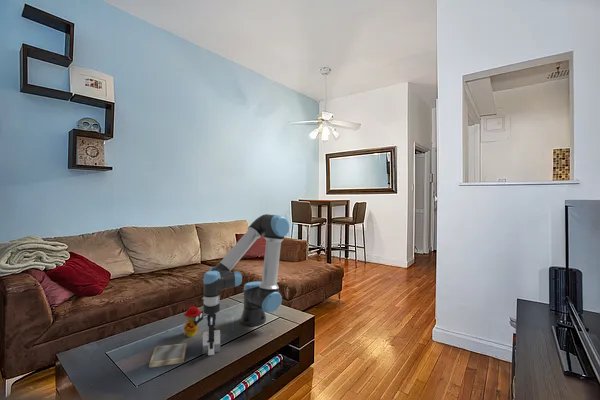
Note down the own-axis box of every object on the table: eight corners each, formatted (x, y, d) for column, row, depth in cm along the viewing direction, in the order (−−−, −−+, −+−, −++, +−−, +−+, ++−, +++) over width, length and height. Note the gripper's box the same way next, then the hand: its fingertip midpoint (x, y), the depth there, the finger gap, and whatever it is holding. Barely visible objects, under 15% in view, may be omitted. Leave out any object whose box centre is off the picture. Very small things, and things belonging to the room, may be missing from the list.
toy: (194, 340, 150) (194, 311, 150) (178, 338, 152) (178, 310, 152) (205, 330, 161) (205, 303, 161) (190, 328, 163) (191, 302, 163)
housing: (219, 345, 145) (219, 329, 145) (220, 351, 139) (220, 335, 139) (203, 347, 143) (203, 331, 143) (202, 354, 137) (202, 337, 137)
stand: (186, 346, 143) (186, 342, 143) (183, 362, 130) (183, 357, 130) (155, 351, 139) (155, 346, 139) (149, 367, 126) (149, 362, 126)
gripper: (204, 296, 150) (203, 339, 150) (202, 313, 129) (202, 362, 129) (219, 295, 152) (218, 337, 152) (220, 311, 131) (219, 360, 132)
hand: (211, 349), depth 141 cm, fingers open, 9 cm apart
